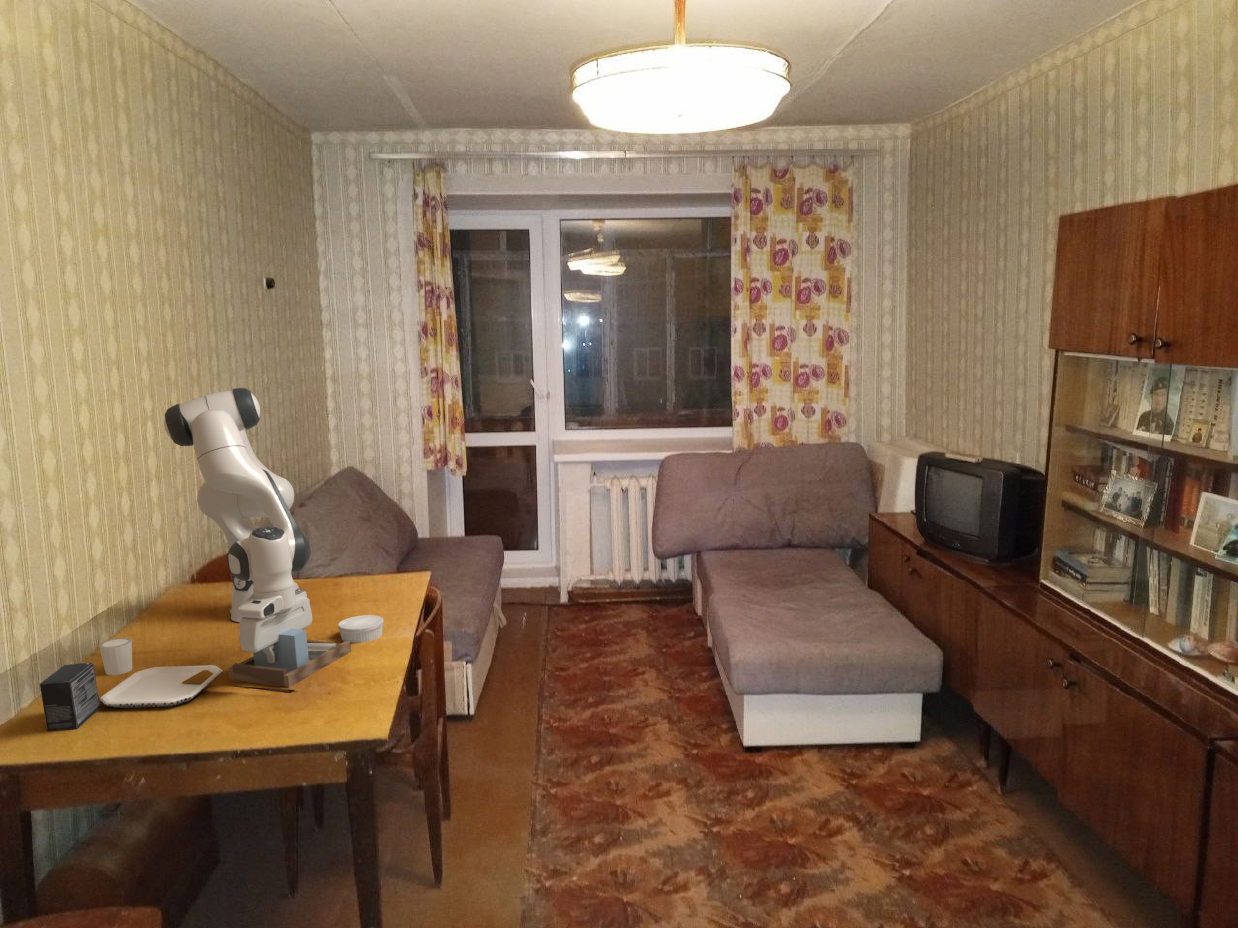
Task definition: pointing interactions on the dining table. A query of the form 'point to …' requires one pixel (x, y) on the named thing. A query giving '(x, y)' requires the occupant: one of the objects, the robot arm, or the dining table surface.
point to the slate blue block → (286, 651)
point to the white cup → (117, 656)
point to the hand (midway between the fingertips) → (280, 657)
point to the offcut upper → (318, 649)
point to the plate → (158, 687)
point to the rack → (280, 676)
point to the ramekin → (361, 628)
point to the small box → (70, 696)
